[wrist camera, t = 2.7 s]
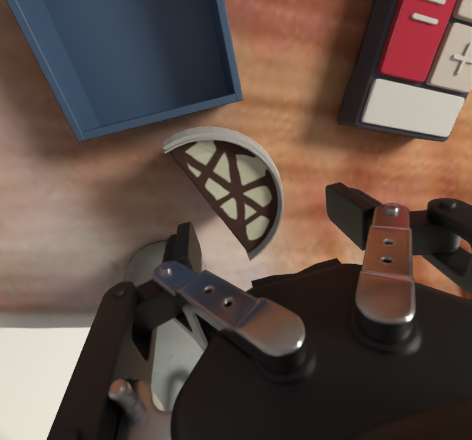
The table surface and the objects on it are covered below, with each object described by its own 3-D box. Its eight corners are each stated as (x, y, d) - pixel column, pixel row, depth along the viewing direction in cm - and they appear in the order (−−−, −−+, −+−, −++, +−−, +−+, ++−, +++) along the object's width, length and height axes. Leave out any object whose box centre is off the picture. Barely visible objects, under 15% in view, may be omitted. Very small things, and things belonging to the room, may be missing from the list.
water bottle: (196, 228, 31) (195, 776, 6) (217, 286, 35) (264, 736, 11) (116, 250, 31) (-226, 908, 6) (147, 306, 35) (28, 810, 10)
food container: (279, 188, 30) (314, 227, 21) (237, 216, 31) (253, 265, 22) (221, 91, 25) (236, 89, 16) (171, 128, 25) (158, 146, 17)
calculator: (544, -51, 20) (453, 143, 26) (487, -25, 24) (419, 139, 30) (430, -97, 18) (358, 126, 23) (388, -60, 22) (335, 124, 27)
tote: (100, 133, 25) (77, 142, 20) (-1, -87, 18) (-73, -153, 13) (234, 98, 25) (243, 99, 20) (188, -131, 18) (184, -211, 13)
